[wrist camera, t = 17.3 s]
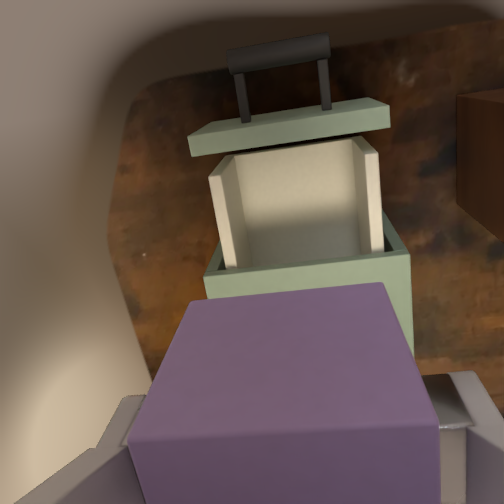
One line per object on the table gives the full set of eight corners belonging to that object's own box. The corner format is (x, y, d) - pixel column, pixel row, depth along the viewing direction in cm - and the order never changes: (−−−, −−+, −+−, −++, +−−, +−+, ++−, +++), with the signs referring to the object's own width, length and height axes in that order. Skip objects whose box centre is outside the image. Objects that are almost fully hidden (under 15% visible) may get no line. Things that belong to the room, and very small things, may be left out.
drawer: (198, 59, 32) (170, 56, 25) (364, 30, 31) (384, 18, 24) (240, 287, 39) (227, 337, 31) (380, 272, 37) (400, 321, 30)
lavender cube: (222, 447, 13) (185, 634, 8) (189, 299, 11) (123, 439, 7) (393, 437, 12) (444, 635, 8) (383, 279, 10) (440, 420, 6)
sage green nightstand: (224, 228, 38) (202, 276, 29) (382, 208, 36) (410, 254, 27) (252, 376, 43) (241, 456, 34) (391, 365, 41) (418, 447, 32)
